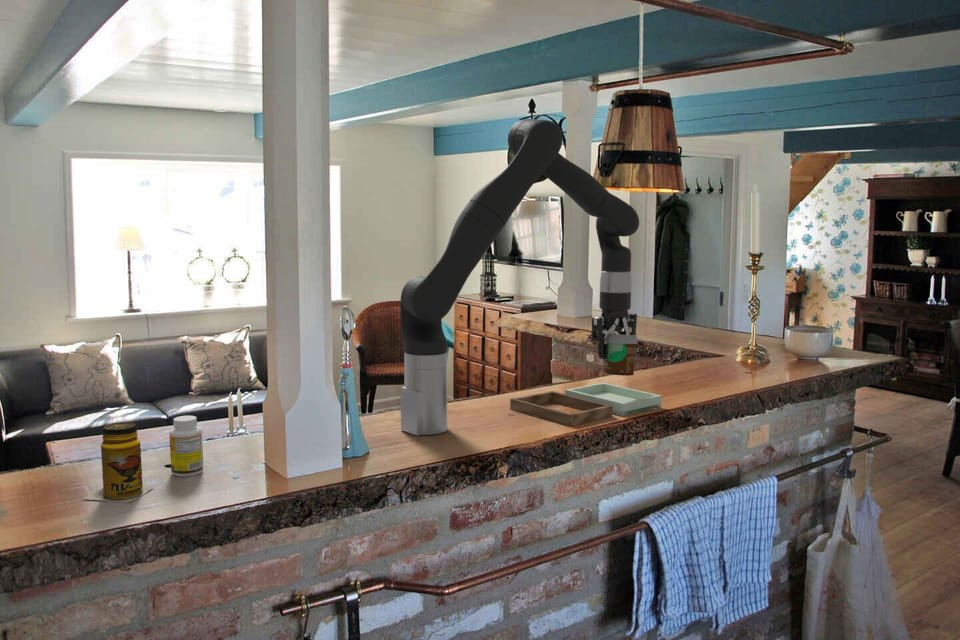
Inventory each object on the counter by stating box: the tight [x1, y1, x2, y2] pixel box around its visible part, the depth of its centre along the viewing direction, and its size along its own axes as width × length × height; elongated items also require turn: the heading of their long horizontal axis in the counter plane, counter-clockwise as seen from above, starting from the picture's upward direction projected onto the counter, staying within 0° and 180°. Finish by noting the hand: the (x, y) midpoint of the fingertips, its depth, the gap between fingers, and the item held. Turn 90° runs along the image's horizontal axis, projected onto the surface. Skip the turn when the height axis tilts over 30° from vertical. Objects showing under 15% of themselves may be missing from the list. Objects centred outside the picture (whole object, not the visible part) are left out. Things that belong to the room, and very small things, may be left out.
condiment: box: [83, 421, 155, 504], centre depth 139 cm, size 7×8×12 cm
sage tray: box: [564, 382, 662, 417], centre depth 205 cm, size 14×19×3 cm
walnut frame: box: [509, 390, 613, 427], centre depth 196 cm, size 14×20×2 cm
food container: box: [602, 329, 639, 377], centre depth 203 cm, size 12×6×10 cm, turn 21°
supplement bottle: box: [169, 415, 204, 478], centre depth 150 cm, size 6×6×10 cm
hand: (613, 357), depth 203 cm, fingers closed on food container, 7 cm apart
